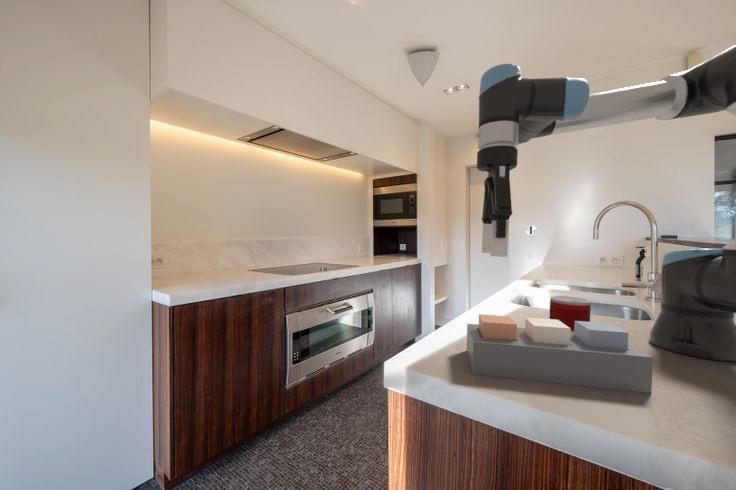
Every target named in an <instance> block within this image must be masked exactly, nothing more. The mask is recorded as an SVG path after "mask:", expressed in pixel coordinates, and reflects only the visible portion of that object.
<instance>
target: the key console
mask: <svg viewBox="0 0 736 490" xmlns="http://www.w3.org/2000/svg"><path fill="white" fill-rule="evenodd" d="M466 325H467V326H466V353H467V357H468V361H469V366H470V369H471V372H472V375H480V376H487V377H488V376H490V377H498V378H507V379H517V380H525V381H533V382H534V381H536V382H543V383H551V384H552V383H554V384H563V385H570V386H572V385H573V386H579V387H580V386H581V387H582V386H583V387H588V388H589V387H591V388H598V389H609V390H618V391H626V392H634V393H635V392H636V393H645V394H652V391H653V390H652V385H653V368H654V367H653V365H654V361H653V360H654V357H653V356H651V355H650V354H648V353H647V352H644V351H642V350H641V349H639V348H637V347H635V346H633V345H632V344H630V343H628V350H620V349H608V348H596V347H587V346H586V345H585V344H583V343H582V342H580V341H579V340H578V339H576V338H575V337H574V332H571V333H570V345H560V344H548V343H536V342H532V341H531V340H530V339H529V338H528V337H527V335H526V334H525V327H517V339H516V341H512V340H500V339H488V338H481V336H480V334H479V324H475V323H467V324H466Z"/></svg>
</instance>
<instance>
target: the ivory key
mask: <svg viewBox="0 0 736 490" xmlns="http://www.w3.org/2000/svg"><path fill="white" fill-rule="evenodd" d="M524 319H525V320H524V328H525V334H526V335H527V337H528V338H529V339H530V340H531V341H532V342H536V343H548V344H560V345H570V333H571V328H569V327H568V326H566V325H565V324H563V323H562V322H561V321H559V320H555V319H550V318H541V317H540V318H537V317H524Z"/></svg>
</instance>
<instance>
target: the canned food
mask: <svg viewBox="0 0 736 490" xmlns="http://www.w3.org/2000/svg"><path fill="white" fill-rule="evenodd" d="M549 319H555V320H559V321H561V322H562V323H563V324H565V325H566V326H568V327H569V328H571V332H574V327H575V321H585V322H591V301H590V300H588V299H586V298H582V297H581V298H580V297H576V296H575V297H574V296H566V295H560V296H559V295H554V296H551V297H550V299H549Z"/></svg>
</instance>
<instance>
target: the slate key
mask: <svg viewBox="0 0 736 490" xmlns="http://www.w3.org/2000/svg"><path fill="white" fill-rule="evenodd" d="M574 337H575V338H576V339H578V340H579V341H580V342H582V343H583V344H585V345H586V346H587V347H596V348H608V349H620V350H628V344H629V332H628V331H626V330H624V329H623V328H621V327H618V326H616V325H614V324H612V323H610V322H599V321H598V322H597V321H590V322H585V321H575V327H574Z"/></svg>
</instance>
